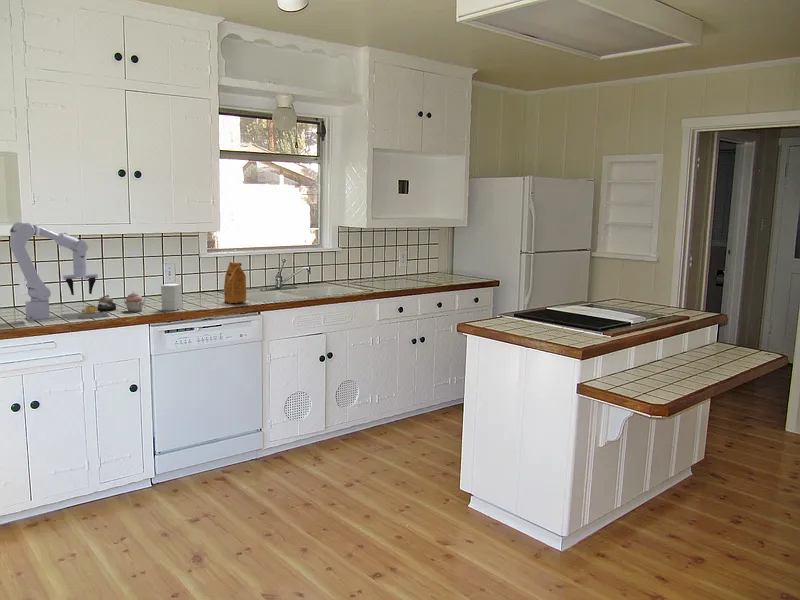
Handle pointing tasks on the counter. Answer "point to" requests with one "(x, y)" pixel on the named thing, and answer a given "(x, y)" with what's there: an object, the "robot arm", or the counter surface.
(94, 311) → the planet gear
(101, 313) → the carrier
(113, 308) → the caster wheel
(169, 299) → the supplement box
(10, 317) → the counter surface
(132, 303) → the cupcake
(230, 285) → the coffee package
